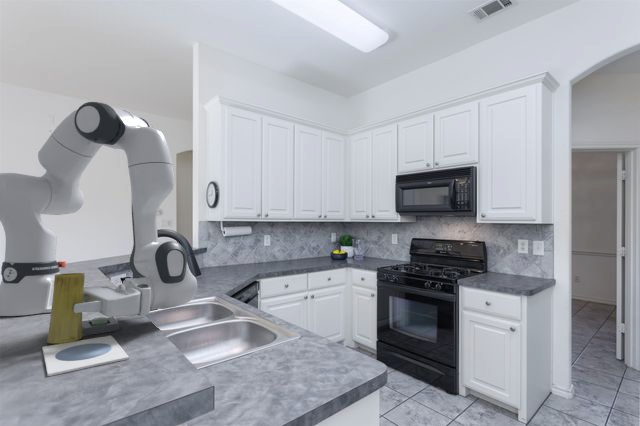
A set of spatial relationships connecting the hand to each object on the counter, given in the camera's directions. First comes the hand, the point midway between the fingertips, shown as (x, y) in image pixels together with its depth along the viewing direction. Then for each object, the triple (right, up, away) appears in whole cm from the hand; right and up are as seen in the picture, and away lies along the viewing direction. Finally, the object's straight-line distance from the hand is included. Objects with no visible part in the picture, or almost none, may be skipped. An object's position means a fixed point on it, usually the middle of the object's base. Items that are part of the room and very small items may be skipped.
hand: (66, 304), depth 70 cm
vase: (0, -8, 0) cm, 8 cm away
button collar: (+1, -9, +9) cm, 12 cm away
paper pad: (+9, -8, -6) cm, 13 cm away
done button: (+1, -9, +9) cm, 12 cm away
